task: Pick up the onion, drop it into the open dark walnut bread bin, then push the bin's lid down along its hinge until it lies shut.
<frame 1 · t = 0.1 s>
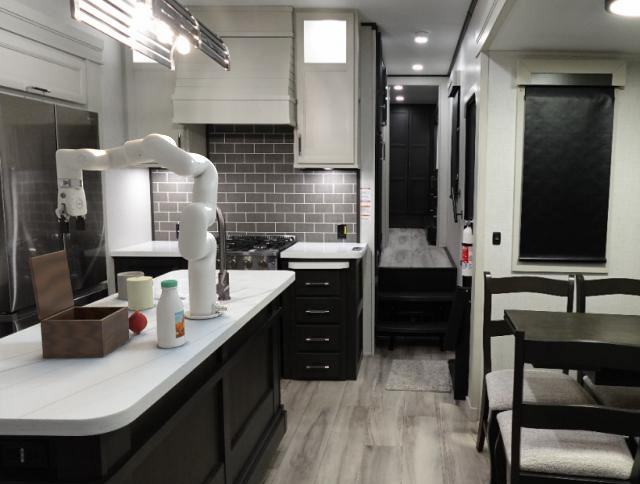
hand: (73, 231, 178), 31 cm above the table, tool pointing down, fingers open, 9 cm apart
milk bottle: (171, 345, 152), on the table
bin lid: (52, 283, 145), point 20 cm above the table, hinge at 95.0°
can: (141, 307, 195), on the table
bread bin: (88, 348, 148), on the table
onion: (137, 334, 162), on the table
coffee mug: (136, 296, 212), on the table
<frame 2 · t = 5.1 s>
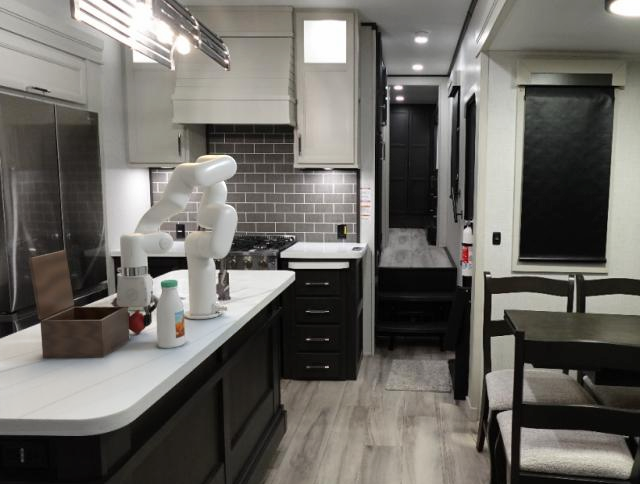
hand: (137, 324, 162), 3 cm above the table, tool pointing down, fingers closed on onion, 5 cm apart
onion: (137, 334, 162), on the table, touching gripper
everything else where it was.
when the fingers open (4 cm above the table, at t = 12.7 s): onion stays where it is, resting on bread bin.
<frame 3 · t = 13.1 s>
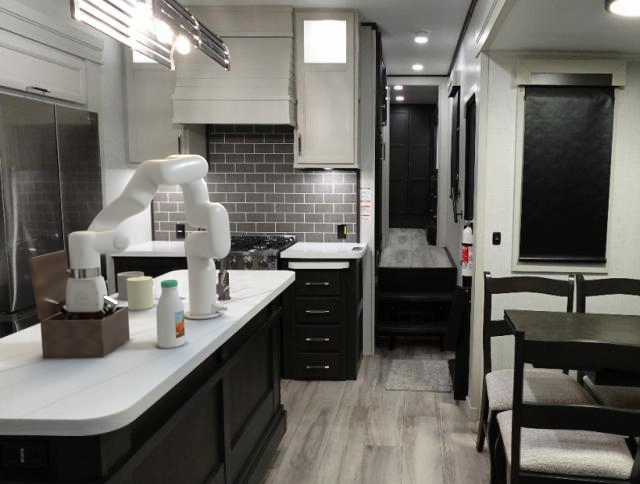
hand: (89, 329, 147), 6 cm above the table, tool pointing down, fingers open, 8 cm apart
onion: (92, 346, 148), point 1 cm above the table, touching bread bin
everything else where it was.
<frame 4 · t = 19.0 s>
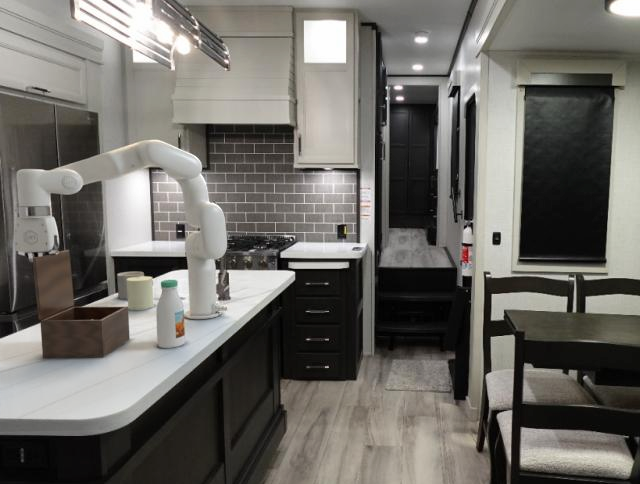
hand: (40, 274, 144), 22 cm above the table, tool pointing down, fingers closed
bin lid: (54, 283, 145), point 20 cm above the table, hinge at 91.6°, touching gripper
everything else where it was.
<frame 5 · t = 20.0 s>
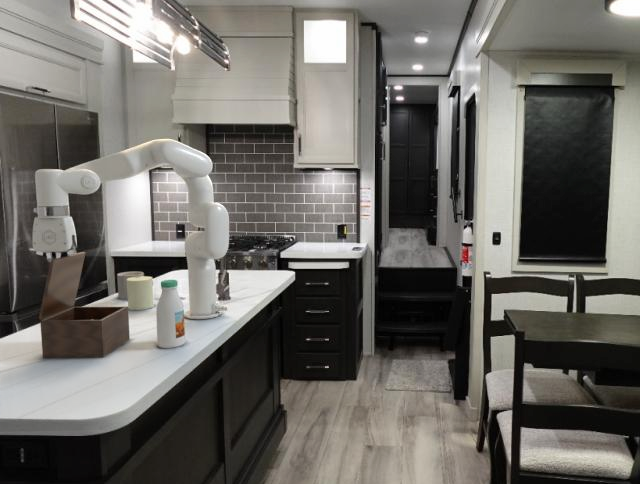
hand: (57, 274, 145), 23 cm above the table, tool pointing down, fingers closed
bin lid: (63, 284, 145), point 20 cm above the table, hinge at 75.3°, touching gripper
everything else where it was.
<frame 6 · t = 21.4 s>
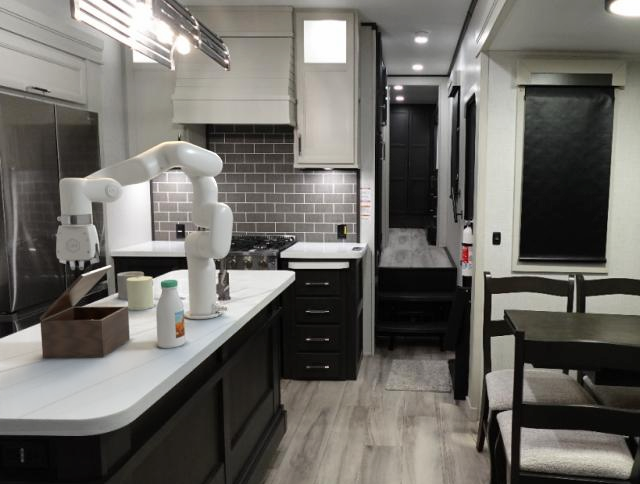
hand: (80, 282, 145), 20 cm above the table, tool pointing down, fingers closed
bin lid: (77, 291, 145), point 17 cm above the table, hinge at 45.8°, touching gripper
everything else where it was.
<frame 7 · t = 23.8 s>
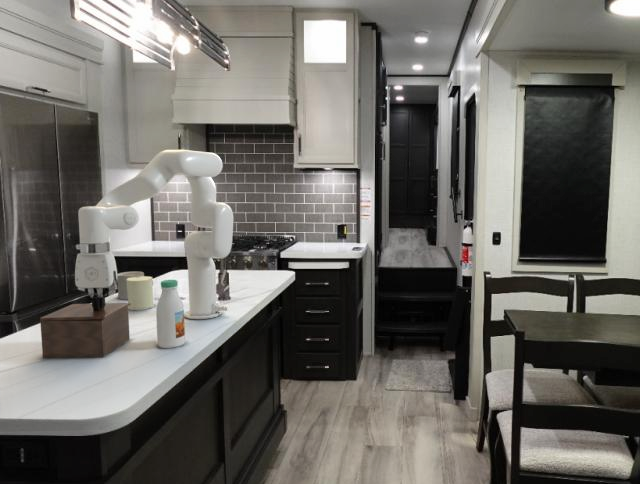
hand: (98, 309, 146), 12 cm above the table, tool pointing down, fingers closed
bin lid: (87, 311, 146), point 11 cm above the table, hinge at 1.1°, touching gripper
everything else where it was.
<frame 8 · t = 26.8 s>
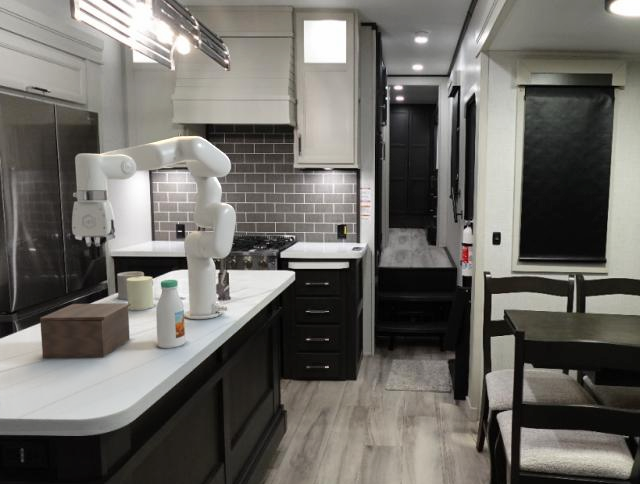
hand: (96, 259, 145), 27 cm above the table, tool pointing down, fingers closed
bin lid: (87, 311, 146), point 11 cm above the table, hinge at 0.7°
everything else where it was.
at the end: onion inside the target area in the bread bin (1.1 cm from its centre), point 0.6 cm above the bread bin's base; bin lid at +1° (first picture: +95°) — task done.
